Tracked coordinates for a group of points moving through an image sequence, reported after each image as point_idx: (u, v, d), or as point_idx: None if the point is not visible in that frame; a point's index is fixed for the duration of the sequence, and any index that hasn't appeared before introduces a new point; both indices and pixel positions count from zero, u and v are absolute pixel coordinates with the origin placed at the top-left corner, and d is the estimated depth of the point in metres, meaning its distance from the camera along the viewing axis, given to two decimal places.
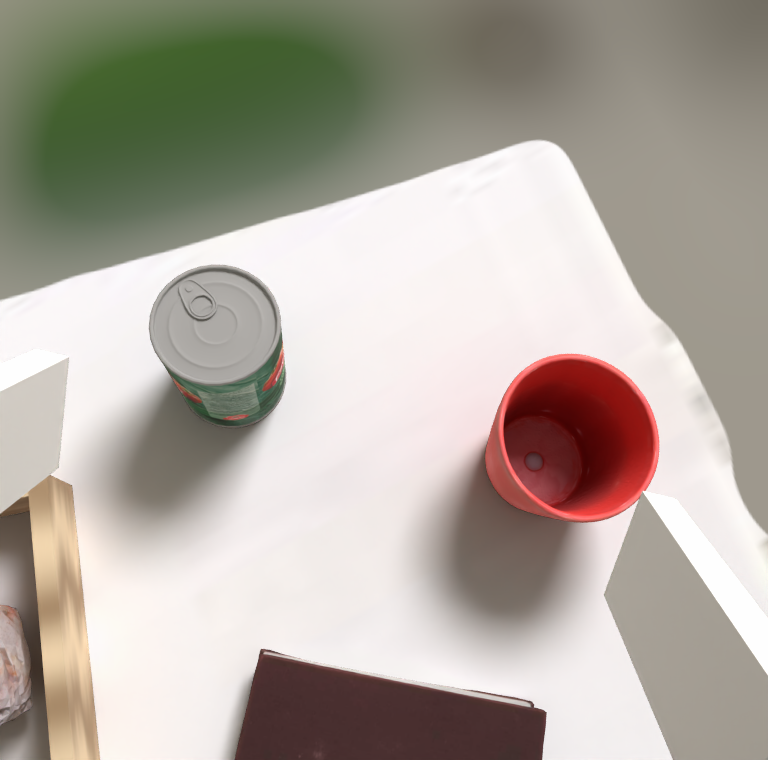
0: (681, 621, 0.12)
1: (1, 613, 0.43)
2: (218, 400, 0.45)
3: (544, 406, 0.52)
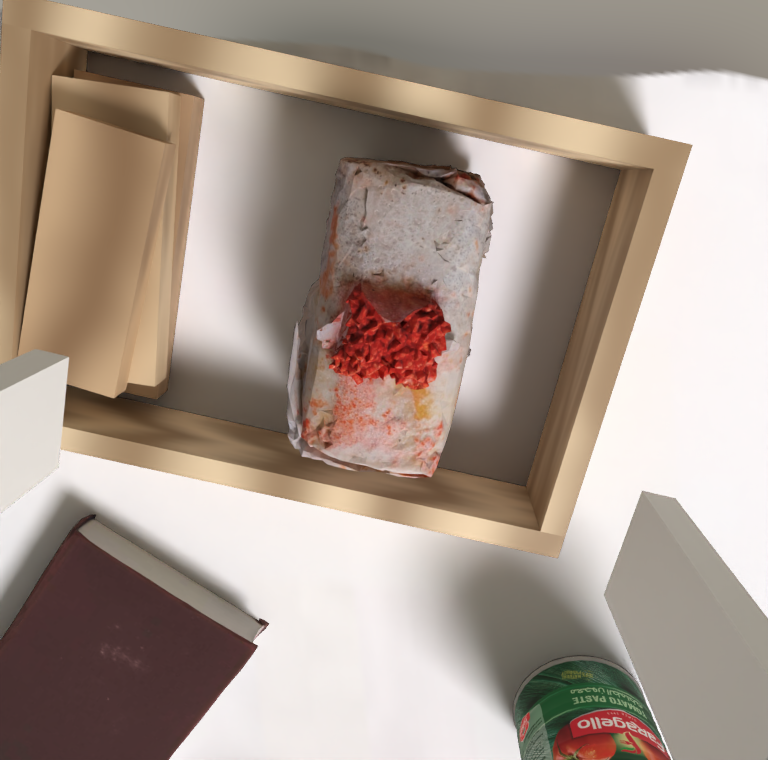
0: (681, 621, 0.12)
1: None
2: None
3: None
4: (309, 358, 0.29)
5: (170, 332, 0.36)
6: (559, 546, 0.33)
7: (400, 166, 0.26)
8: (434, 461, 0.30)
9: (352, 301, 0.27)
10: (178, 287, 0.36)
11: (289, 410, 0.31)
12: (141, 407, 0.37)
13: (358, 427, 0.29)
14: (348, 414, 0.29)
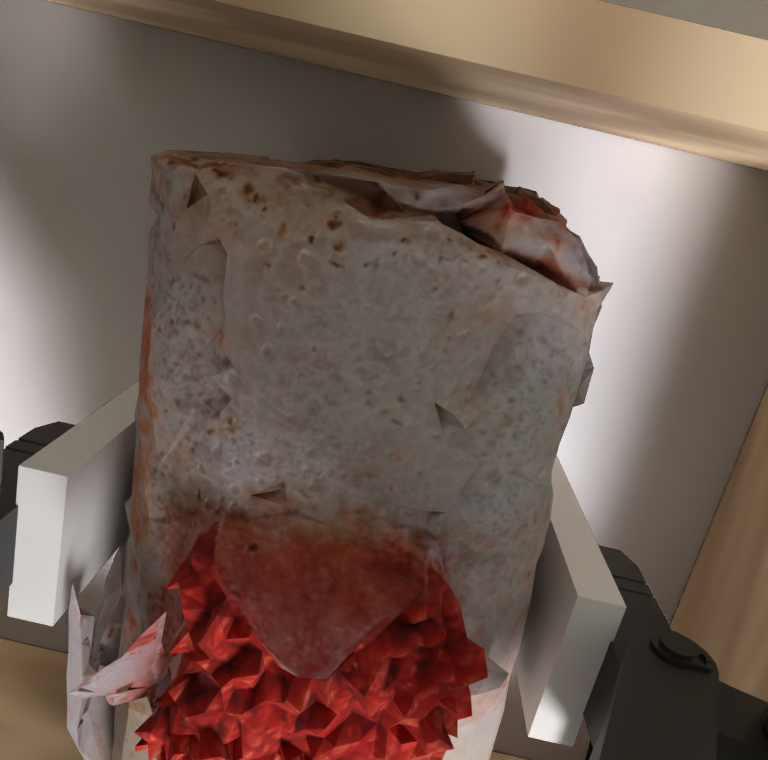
0: None
1: None
2: None
3: None
4: None
5: None
6: None
7: (329, 178, 0.08)
8: None
9: (186, 590, 0.09)
10: None
11: None
12: None
13: None
14: None
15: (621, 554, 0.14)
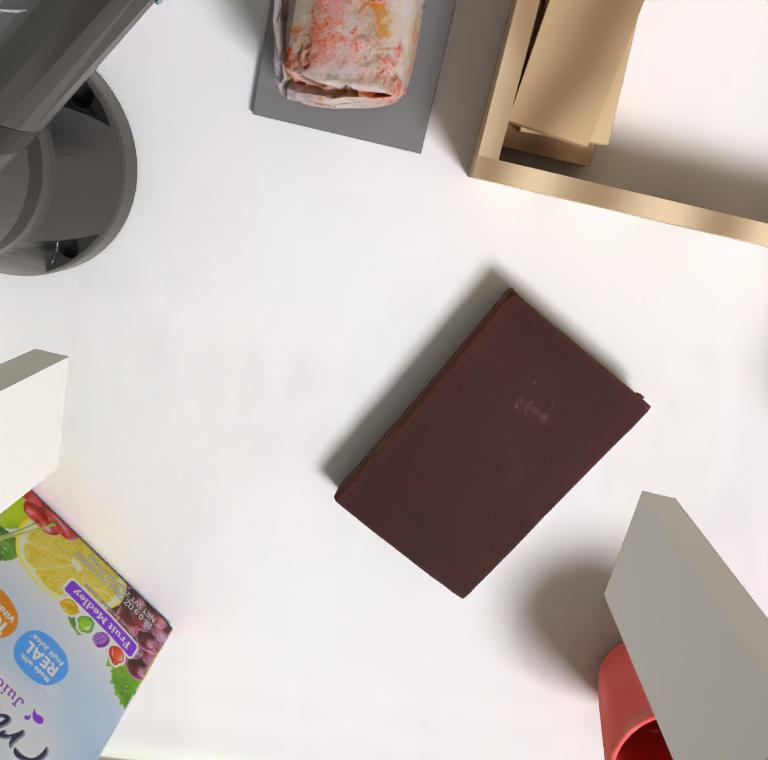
0: (681, 620, 0.12)
1: (389, 100, 0.40)
2: None
3: None
4: None
5: None
6: None
7: None
8: (395, 82, 0.36)
9: None
10: None
11: (275, 49, 0.37)
12: None
13: (331, 45, 0.35)
14: (322, 33, 0.35)
15: None
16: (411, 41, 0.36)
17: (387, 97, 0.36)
